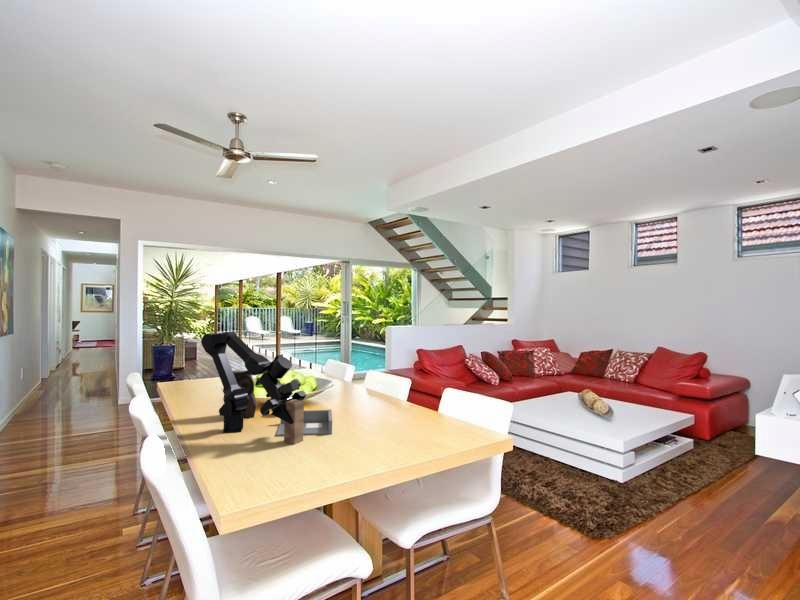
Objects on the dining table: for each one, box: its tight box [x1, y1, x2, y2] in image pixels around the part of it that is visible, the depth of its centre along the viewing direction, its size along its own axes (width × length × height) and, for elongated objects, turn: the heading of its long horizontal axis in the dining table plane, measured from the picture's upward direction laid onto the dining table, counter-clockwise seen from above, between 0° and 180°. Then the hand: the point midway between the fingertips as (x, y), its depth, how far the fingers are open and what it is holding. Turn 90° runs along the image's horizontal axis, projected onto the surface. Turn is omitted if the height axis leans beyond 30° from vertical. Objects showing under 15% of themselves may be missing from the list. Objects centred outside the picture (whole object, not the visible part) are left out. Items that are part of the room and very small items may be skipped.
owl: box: [222, 369, 257, 419], centre depth 180 cm, size 13×13×20 cm
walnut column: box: [283, 400, 305, 445], centre depth 148 cm, size 5×5×14 cm
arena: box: [275, 409, 333, 437], centre depth 163 cm, size 20×17×5 cm
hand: (297, 421), depth 147 cm, fingers closed on walnut column, 5 cm apart
